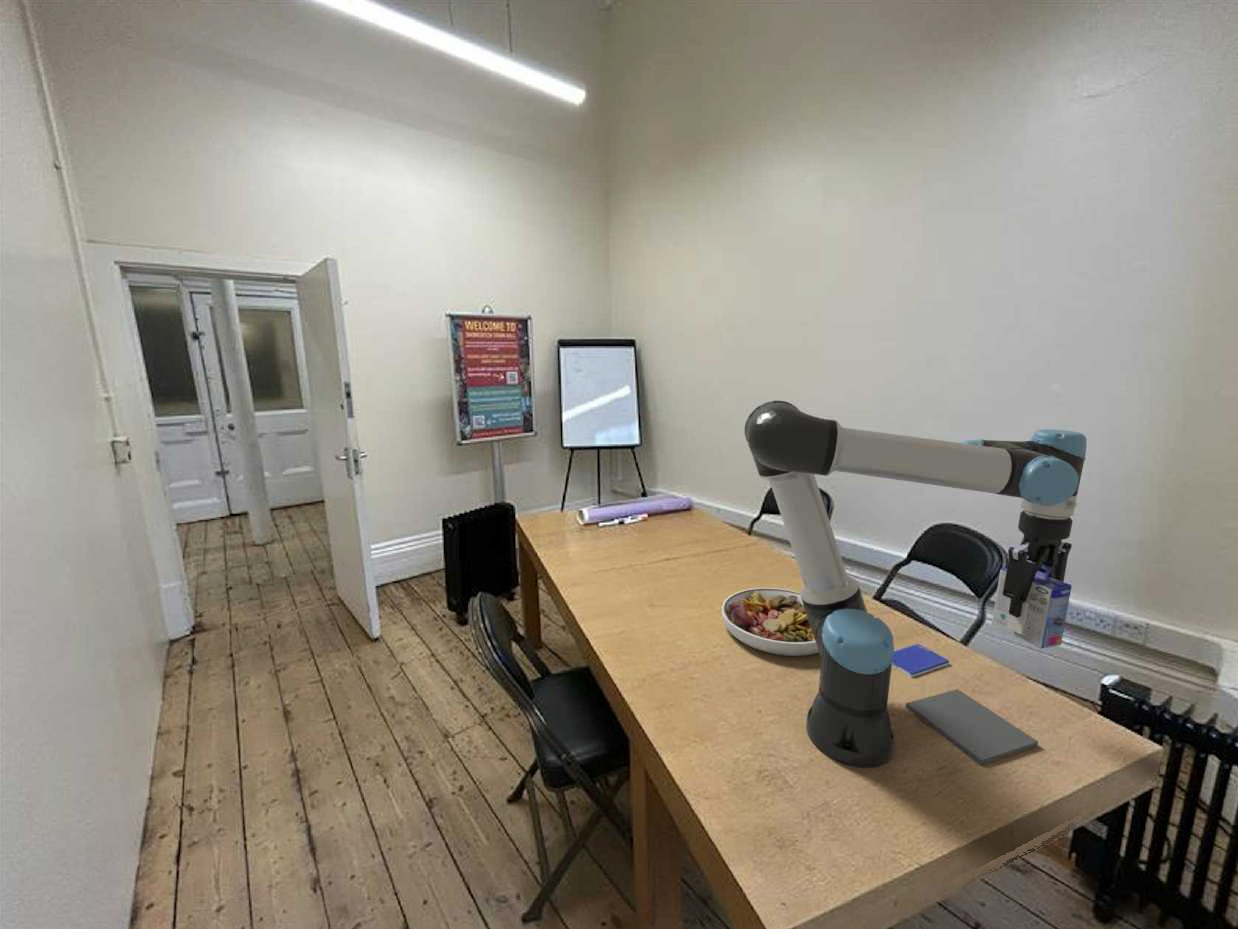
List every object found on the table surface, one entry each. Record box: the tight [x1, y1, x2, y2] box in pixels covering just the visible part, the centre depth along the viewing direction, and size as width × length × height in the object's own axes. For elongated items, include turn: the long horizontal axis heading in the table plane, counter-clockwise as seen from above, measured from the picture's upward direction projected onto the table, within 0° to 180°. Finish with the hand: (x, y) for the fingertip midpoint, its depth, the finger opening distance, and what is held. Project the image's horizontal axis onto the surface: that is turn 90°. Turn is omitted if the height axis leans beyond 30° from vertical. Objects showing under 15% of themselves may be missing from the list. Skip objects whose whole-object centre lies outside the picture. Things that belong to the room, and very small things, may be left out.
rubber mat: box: [905, 688, 1039, 766], centre depth 99 cm, size 14×16×1 cm
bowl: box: [721, 587, 819, 657], centre depth 135 cm, size 30×30×8 cm
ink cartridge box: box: [991, 561, 1072, 649], centre depth 98 cm, size 10×6×14 cm, turn 17°
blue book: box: [892, 643, 950, 678], centre depth 121 cm, size 2×8×12 cm
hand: (1026, 627), depth 99 cm, fingers closed on ink cartridge box, 5 cm apart
